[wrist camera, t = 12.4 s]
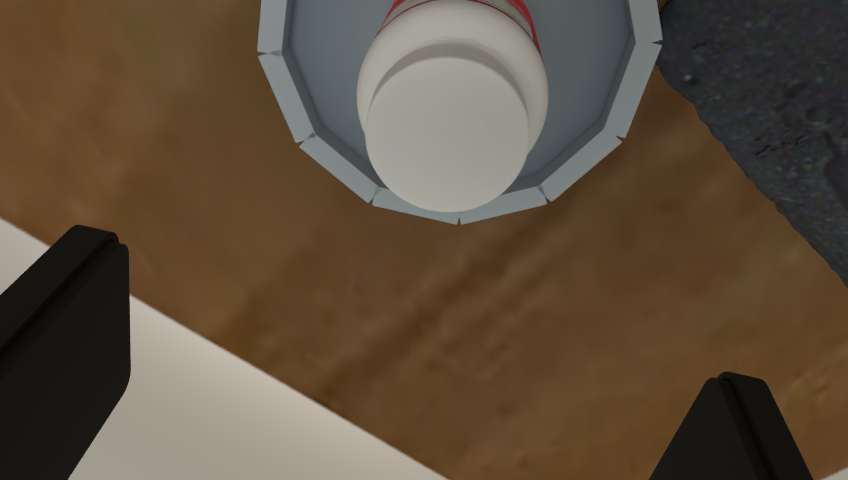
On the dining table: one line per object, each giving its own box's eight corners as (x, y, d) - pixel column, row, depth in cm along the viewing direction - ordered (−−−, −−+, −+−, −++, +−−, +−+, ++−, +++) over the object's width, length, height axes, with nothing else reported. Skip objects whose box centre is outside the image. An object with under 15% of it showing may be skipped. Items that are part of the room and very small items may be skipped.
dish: (712, -127, 26) (731, -123, 24) (575, 229, 34) (581, 254, 32) (296, -232, 25) (279, -237, 23) (258, 156, 34) (243, 177, 32)
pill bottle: (477, 134, 31) (473, 269, 21) (359, 58, 30) (299, 167, 20) (565, 15, 28) (605, 111, 19) (438, -75, 27) (411, -21, 17)
